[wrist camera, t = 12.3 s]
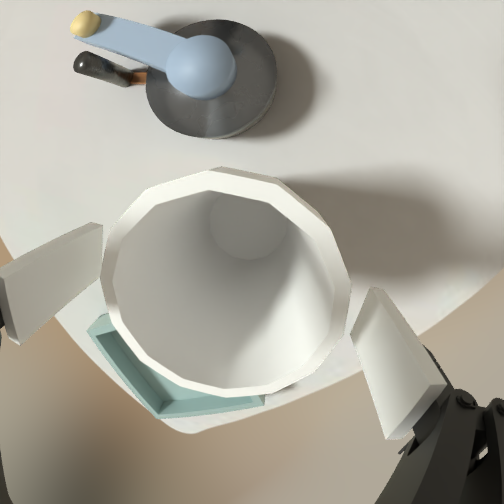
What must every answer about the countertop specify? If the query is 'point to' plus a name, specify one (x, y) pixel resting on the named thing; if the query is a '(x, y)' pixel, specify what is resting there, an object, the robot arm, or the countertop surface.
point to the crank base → (203, 111)
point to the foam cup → (226, 283)
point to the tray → (159, 381)
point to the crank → (163, 53)
